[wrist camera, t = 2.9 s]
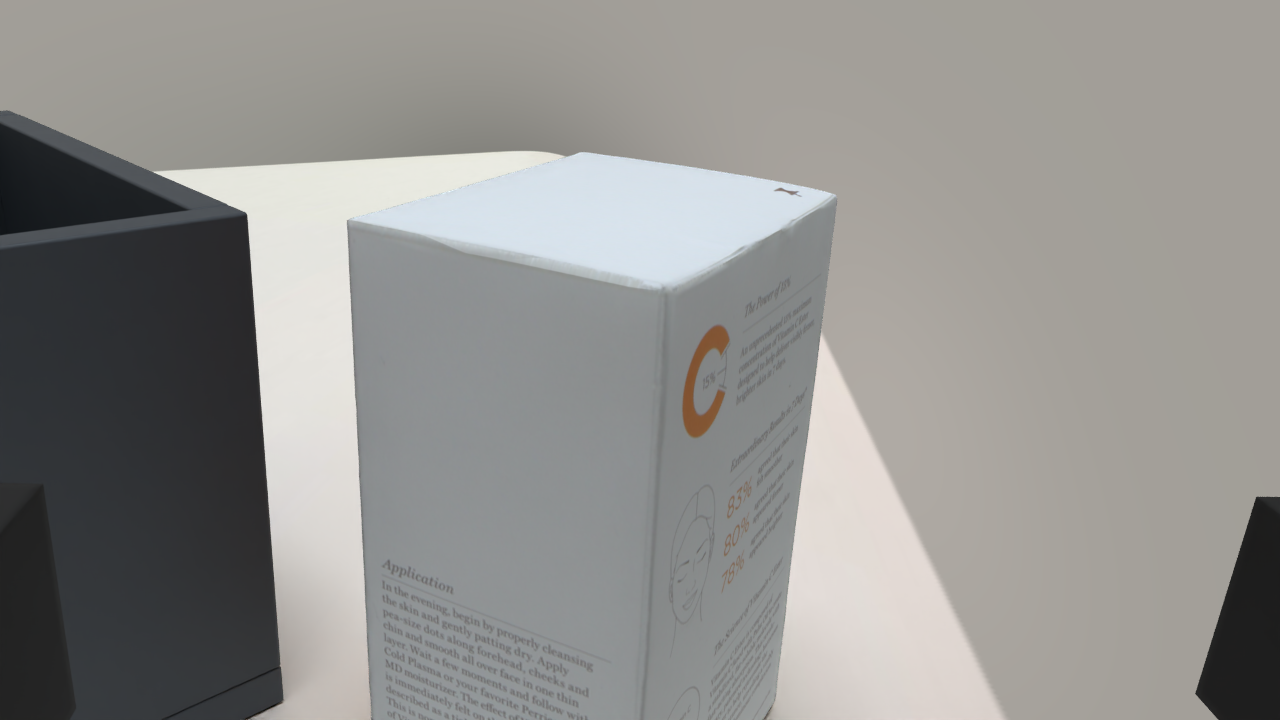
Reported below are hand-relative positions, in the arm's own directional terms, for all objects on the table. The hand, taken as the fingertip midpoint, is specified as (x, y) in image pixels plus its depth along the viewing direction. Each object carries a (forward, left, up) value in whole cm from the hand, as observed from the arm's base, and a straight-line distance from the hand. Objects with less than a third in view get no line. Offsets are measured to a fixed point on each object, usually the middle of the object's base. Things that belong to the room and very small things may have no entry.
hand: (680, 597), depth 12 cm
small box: (+7, -6, -11) cm, 15 cm away
